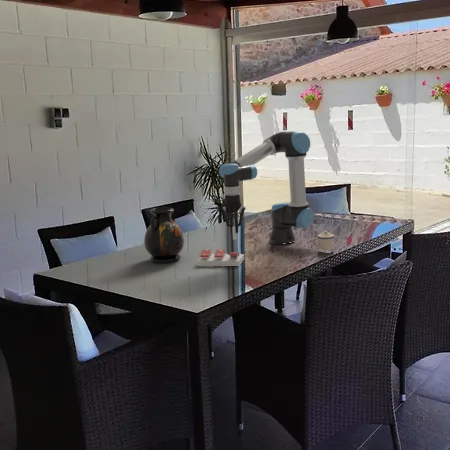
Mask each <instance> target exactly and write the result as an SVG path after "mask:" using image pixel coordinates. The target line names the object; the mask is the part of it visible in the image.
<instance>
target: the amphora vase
mask: <svg viewBox="0 0 450 450" xmlns="http://www.w3.org/2000/svg"><path fill="white" fill-rule="evenodd" d="M174 211H175V209H174V208H172V207H166V206H165V207H156V208H151V209H150V210H149V212H150V214H152V215H153V216H152V217H151V219H150V225H149V226H148V227H147V229H146V231H145V235H144V238H143V239H144V240H143V244H144V248H145V251H146V252H147V253H148V254H149V255H150V257H149V260H150V261H151V262H153V263H154V262H155V264H171V263H175V262H177V261H180V259H181V254H179V253H181V252H182V250H183V248H184V245H185V238H184V233H183V231H182V229H181V227H180V226H179V225H178V224H177V223H176V219H175V215H174Z"/></svg>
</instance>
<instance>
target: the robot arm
mask: <svg viewBox="0 0 450 450" xmlns="http://www.w3.org/2000/svg"><path fill="white" fill-rule="evenodd" d="M310 148H311V140H310V137H309V135H308V134H307V133H305V132H303V131H298V130H297V131H296V130H295V131H291V130H290V131H287V130H285V131H280V132H277V133H274V134H273V135H271V136H269V137H267V138H266V139H264V140H263V141H262V143H261V144H259V145H257V146H255V148H252V149H251V150H249V151H248V152H247V153H244V154H243V155H241V156H239V157H238V158H236V159H235V160H233V161H231V162H229V163H225V164H223V163H222V164H221V165H220V167H219V169H218V172H219V176H220V177H221V178H223V181H224V182H223V184H224V194H225V196H224V197H225V199H224V200H225V204H224V206H223V207H221V208H220V211H221V212H222V213H223V214H222V215H223V217H224V221H225V225H226V227H229V229H230V234H232V241H235V240H236V241H237V239H238V233H239V227H240V226H242V224H243V218H244V215H245V214H244V212H245V210H246V207H245V206H243V205H242V203H241V195H240V192H241V191H240V182H244V181H249V180H250V181H252V180H254V179H255V178H257V177H258V169H257V166H256V164H257V163H259V162H261V161H262V160H264V159H265V158H267V157H269V156H273V155H276V154H279V153H285V158H286V159H287V160H288V176H289V177H288V179H289V194H290V195H289V197H290V202H288V201H287V202H279V203H275V204H273V205H272V206H271V212H270V213H271V232H270V235H269V243H270V244H272V243H274V245H284V244H283V243H289V242H293V241H295V242H296V235H295V232H294V230H293V227H294V228H297V229H306V228H308V227H310V226H311V224H312V223H313V221H314V217H315V216H314V211H313V209H312V208H311V207H310V203H309V202H308V201H307V197H306V196H307V194H306V178H305V177H306V175H305V158H306V157H307V153H308V152H309V151H310ZM239 210H240V213H239V215H238V212H239ZM227 212H228V214H229V215H228V214H227Z"/></svg>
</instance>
